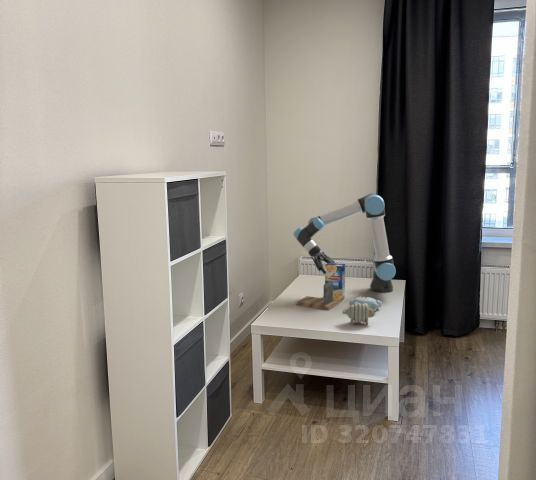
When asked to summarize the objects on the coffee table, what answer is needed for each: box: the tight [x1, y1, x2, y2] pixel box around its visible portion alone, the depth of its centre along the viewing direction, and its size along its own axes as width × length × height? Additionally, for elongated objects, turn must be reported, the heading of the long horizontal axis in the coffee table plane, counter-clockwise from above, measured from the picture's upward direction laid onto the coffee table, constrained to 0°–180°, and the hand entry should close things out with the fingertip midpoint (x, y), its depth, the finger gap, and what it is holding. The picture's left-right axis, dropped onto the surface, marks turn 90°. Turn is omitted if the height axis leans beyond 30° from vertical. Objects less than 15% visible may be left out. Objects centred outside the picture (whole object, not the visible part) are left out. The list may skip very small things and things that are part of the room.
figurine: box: [349, 296, 383, 313], centre depth 309 cm, size 17×8×20 cm
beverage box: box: [324, 262, 346, 302], centre depth 330 cm, size 7×11×22 cm, turn 66°
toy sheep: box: [342, 303, 375, 326], centre depth 285 cm, size 11×17×11 cm, turn 89°
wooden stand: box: [295, 281, 340, 311], centre depth 320 cm, size 22×14×14 cm, turn 59°
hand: (334, 274), depth 330 cm, fingers open, 13 cm apart
